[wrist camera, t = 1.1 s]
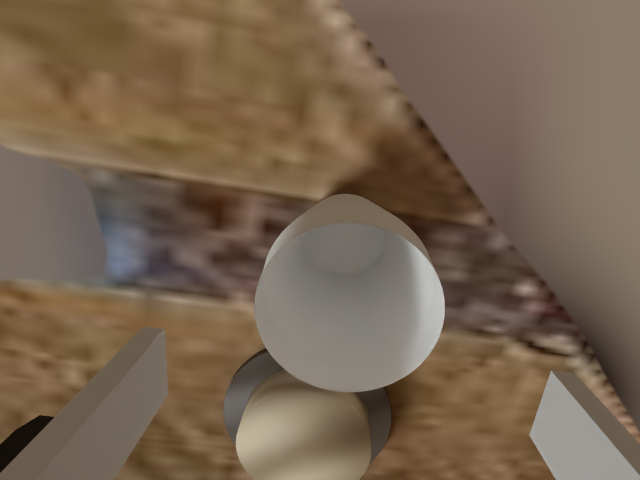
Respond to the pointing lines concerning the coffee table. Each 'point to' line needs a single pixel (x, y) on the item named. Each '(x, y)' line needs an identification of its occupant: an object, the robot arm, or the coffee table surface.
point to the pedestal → (302, 425)
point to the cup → (349, 297)
